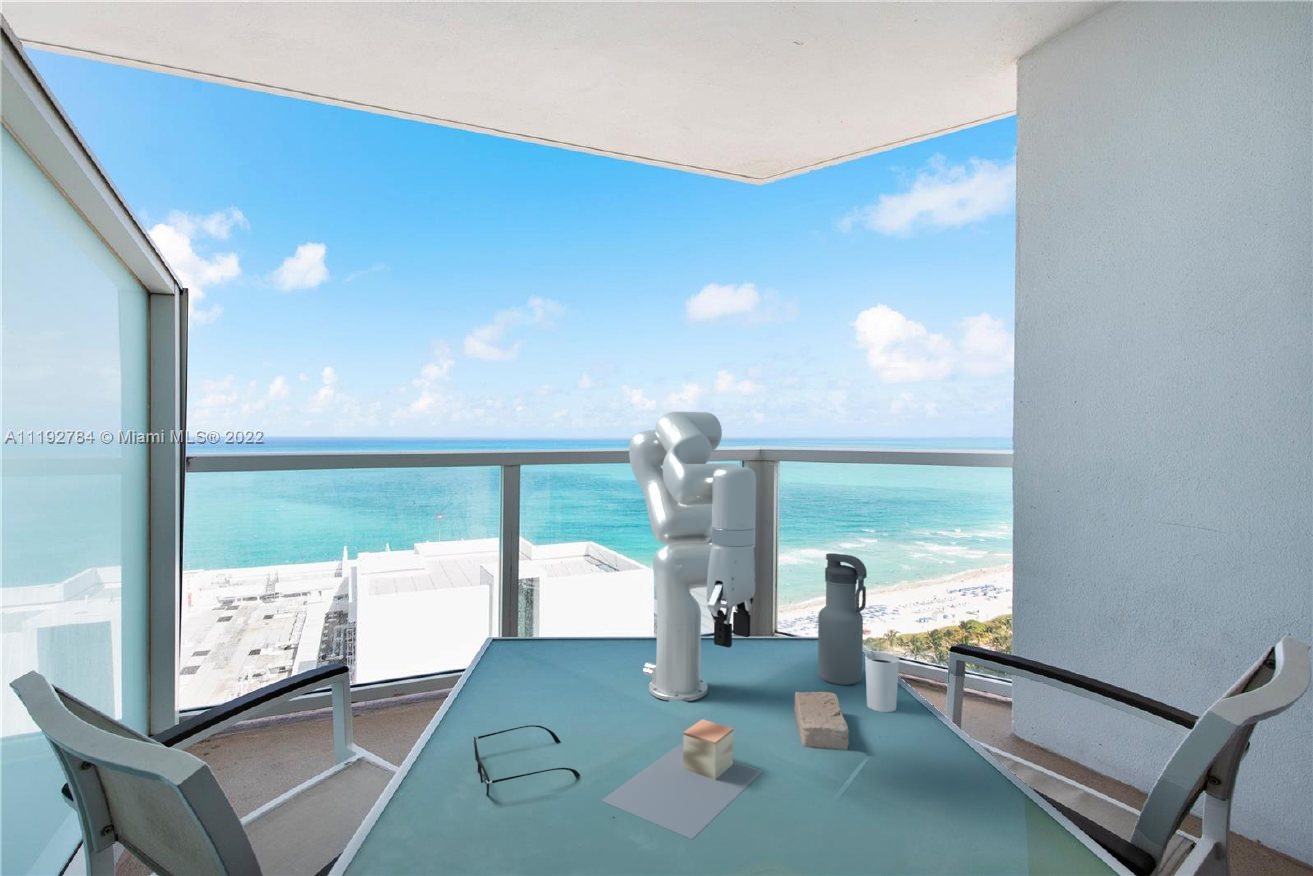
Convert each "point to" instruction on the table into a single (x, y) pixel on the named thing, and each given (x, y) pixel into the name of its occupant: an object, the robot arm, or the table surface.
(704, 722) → the cube
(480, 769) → the eyeglasses
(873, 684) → the white cup
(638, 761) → the table surface
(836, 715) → the brick
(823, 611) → the water bottle
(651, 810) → the mat
